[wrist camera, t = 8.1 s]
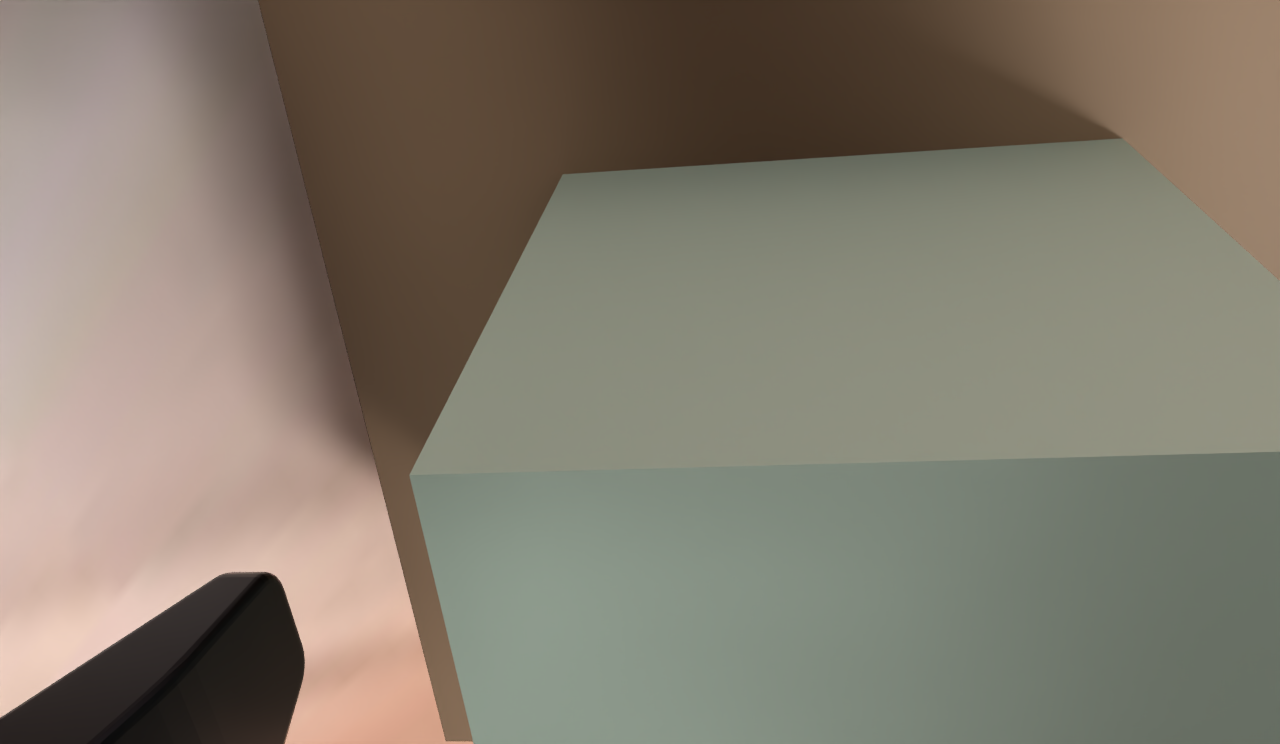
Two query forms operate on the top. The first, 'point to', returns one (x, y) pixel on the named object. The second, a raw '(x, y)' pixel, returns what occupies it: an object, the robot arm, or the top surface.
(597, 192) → the sage cube
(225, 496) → the top surface
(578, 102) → the walnut base
